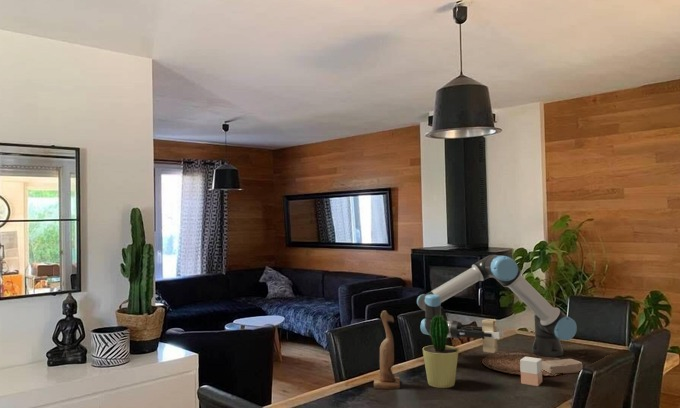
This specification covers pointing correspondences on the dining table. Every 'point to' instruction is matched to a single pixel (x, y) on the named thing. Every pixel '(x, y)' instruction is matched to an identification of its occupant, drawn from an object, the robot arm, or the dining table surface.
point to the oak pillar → (489, 343)
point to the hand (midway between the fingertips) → (501, 334)
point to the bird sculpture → (386, 358)
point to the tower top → (531, 365)
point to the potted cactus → (440, 355)
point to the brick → (562, 366)
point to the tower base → (531, 378)
